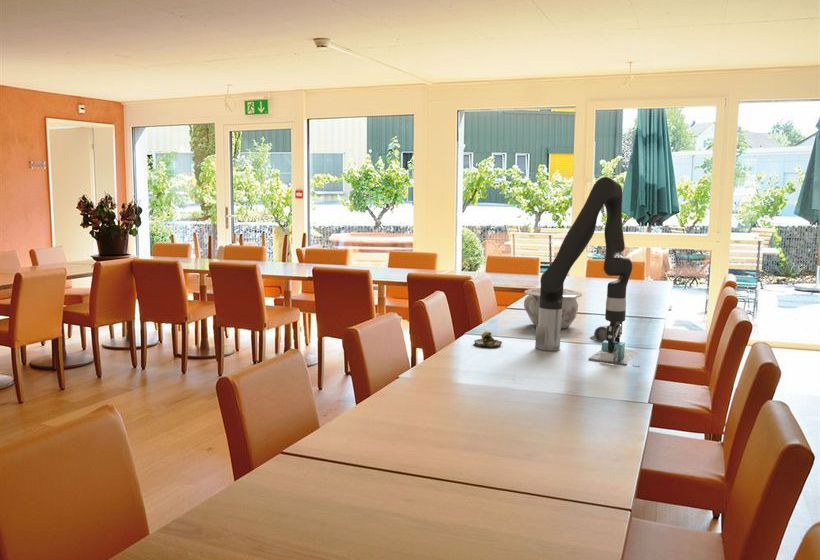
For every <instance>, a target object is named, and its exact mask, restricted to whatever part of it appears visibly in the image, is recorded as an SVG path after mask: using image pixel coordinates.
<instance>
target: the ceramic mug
mask: <svg viewBox="0 0 820 560" xmlns="http://www.w3.org/2000/svg"><path fill="white" fill-rule="evenodd" d="M607 326H608V325H603V326H601V325H600V326H598V327H596V329H595V330H594V333H593V335H591V336H590V337H589V338H590V339H591V340H595V341H599V340H600V341H602V342H603V341H605V340H606V338H607ZM610 338H612V337H610Z"/></svg>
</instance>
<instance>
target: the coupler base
mask: <svg viewBox="0 0 820 560" xmlns="http://www.w3.org/2000/svg"><path fill="white" fill-rule="evenodd" d="M601 351H602V350H599V351H597V352H595V354H593V355H591V356H590V357H588V361H589V362H595V363H596V362H597V363H602V364H609V365H615V366H620V367H621V366H622V367H626V366H627V365H628V362H630V361H631V360H632V359H633V358H634V357H636V356H637V355H638V354H640V353H641V352H642V351H641V350H636V349H629V348H625V350H624V358H623V359H621V360H618V349H614V351H613V352H612V351H608V350H606V351H605V352H601Z"/></svg>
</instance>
